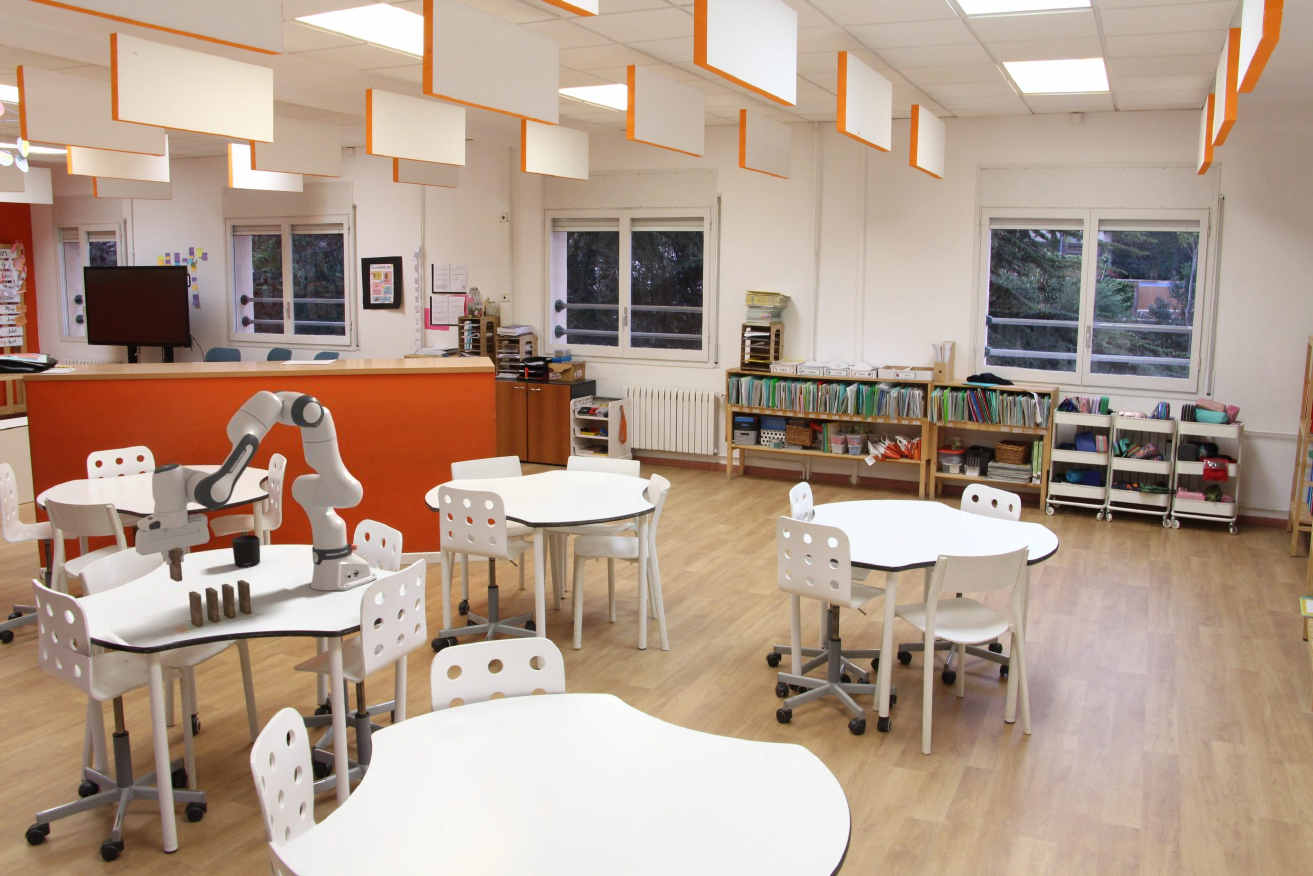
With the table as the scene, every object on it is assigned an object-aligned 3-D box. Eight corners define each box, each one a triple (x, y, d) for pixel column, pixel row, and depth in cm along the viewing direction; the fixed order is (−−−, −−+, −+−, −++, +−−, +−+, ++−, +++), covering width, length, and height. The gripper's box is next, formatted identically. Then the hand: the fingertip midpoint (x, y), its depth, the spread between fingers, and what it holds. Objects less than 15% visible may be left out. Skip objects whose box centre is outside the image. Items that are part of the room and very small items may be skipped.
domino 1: (196, 622, 300) (194, 591, 298) (203, 626, 296) (200, 594, 295) (191, 623, 299) (188, 592, 297) (198, 627, 295) (195, 596, 293)
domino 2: (212, 617, 303) (210, 587, 302) (219, 621, 300) (217, 591, 298) (207, 619, 302) (205, 588, 300) (214, 623, 299) (212, 592, 297)
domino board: (246, 609, 313) (246, 606, 313) (259, 616, 307) (259, 613, 307) (169, 629, 296) (169, 626, 296) (181, 637, 290) (181, 634, 290)
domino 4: (244, 609, 311) (242, 579, 309) (251, 613, 307) (249, 583, 306) (239, 611, 309) (237, 581, 308) (246, 614, 306) (244, 584, 304)
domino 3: (228, 613, 307) (226, 583, 305) (235, 617, 304) (233, 587, 302) (223, 615, 306) (221, 584, 304) (230, 619, 302) (228, 588, 301)
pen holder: (228, 567, 357) (226, 541, 356) (244, 559, 366) (242, 534, 365) (250, 569, 355) (249, 542, 354) (266, 561, 364) (264, 536, 363)
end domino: (175, 577, 293) (173, 545, 292) (182, 580, 290) (179, 548, 288) (170, 578, 292) (167, 546, 290) (176, 581, 289) (174, 549, 287)
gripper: (202, 510, 297) (205, 553, 300) (131, 522, 283) (135, 568, 285) (211, 514, 293) (214, 557, 296) (139, 526, 278) (143, 572, 281)
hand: (175, 563), depth 290 cm, fingers closed on end domino, 2 cm apart
